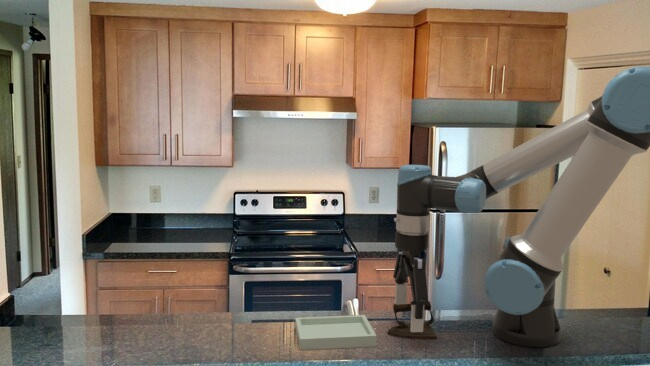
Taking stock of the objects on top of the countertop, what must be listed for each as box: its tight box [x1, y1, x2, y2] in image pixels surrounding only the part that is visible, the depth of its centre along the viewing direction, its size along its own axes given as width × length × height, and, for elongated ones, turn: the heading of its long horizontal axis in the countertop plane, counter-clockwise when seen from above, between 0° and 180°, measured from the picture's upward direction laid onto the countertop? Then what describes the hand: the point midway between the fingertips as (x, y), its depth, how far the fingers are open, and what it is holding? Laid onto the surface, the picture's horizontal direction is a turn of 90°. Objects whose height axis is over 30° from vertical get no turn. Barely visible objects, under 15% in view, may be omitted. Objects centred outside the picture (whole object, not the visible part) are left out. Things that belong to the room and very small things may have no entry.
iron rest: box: [294, 314, 378, 351], centre depth 126 cm, size 17×13×2 cm
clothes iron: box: [387, 300, 438, 340], centre depth 127 cm, size 7×11×10 cm, turn 96°
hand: (408, 320), depth 128 cm, fingers open, 13 cm apart
